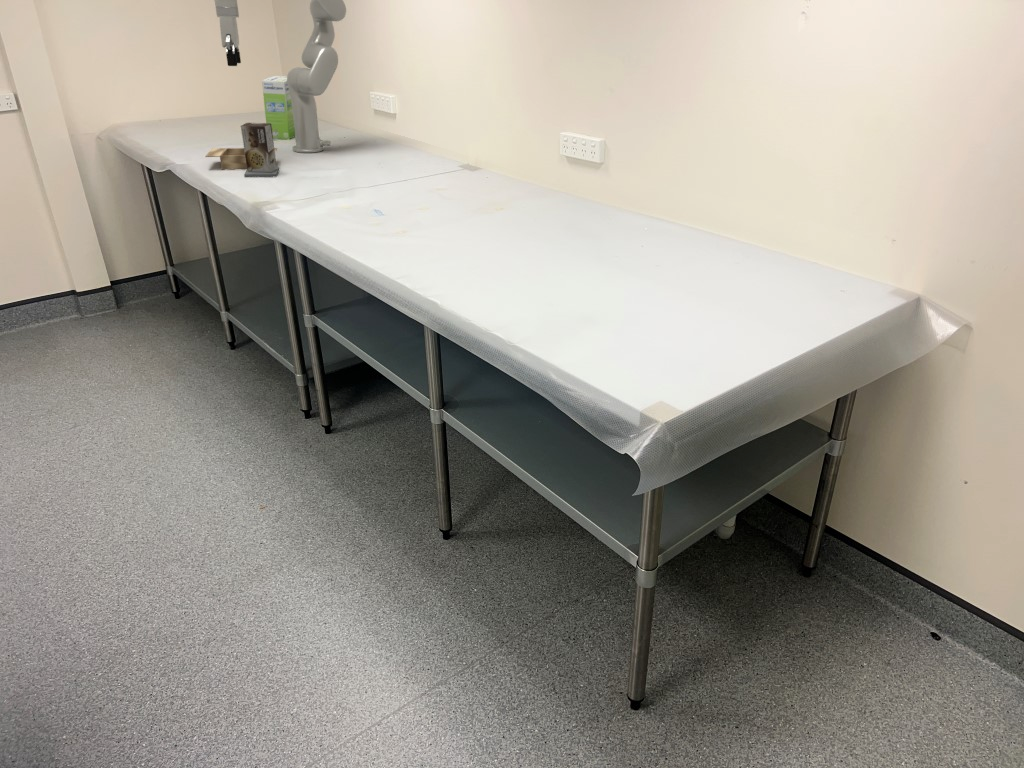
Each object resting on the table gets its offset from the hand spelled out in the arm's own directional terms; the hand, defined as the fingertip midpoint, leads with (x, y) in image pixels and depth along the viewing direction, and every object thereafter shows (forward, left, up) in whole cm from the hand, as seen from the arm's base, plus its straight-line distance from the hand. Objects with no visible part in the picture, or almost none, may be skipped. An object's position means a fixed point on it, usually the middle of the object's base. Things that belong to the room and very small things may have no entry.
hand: (234, 64), depth 274 cm
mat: (-8, +23, -34) cm, 42 cm away
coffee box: (-8, +23, -34) cm, 41 cm away
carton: (0, +10, -34) cm, 36 cm away
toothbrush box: (-10, -50, -34) cm, 62 cm away
